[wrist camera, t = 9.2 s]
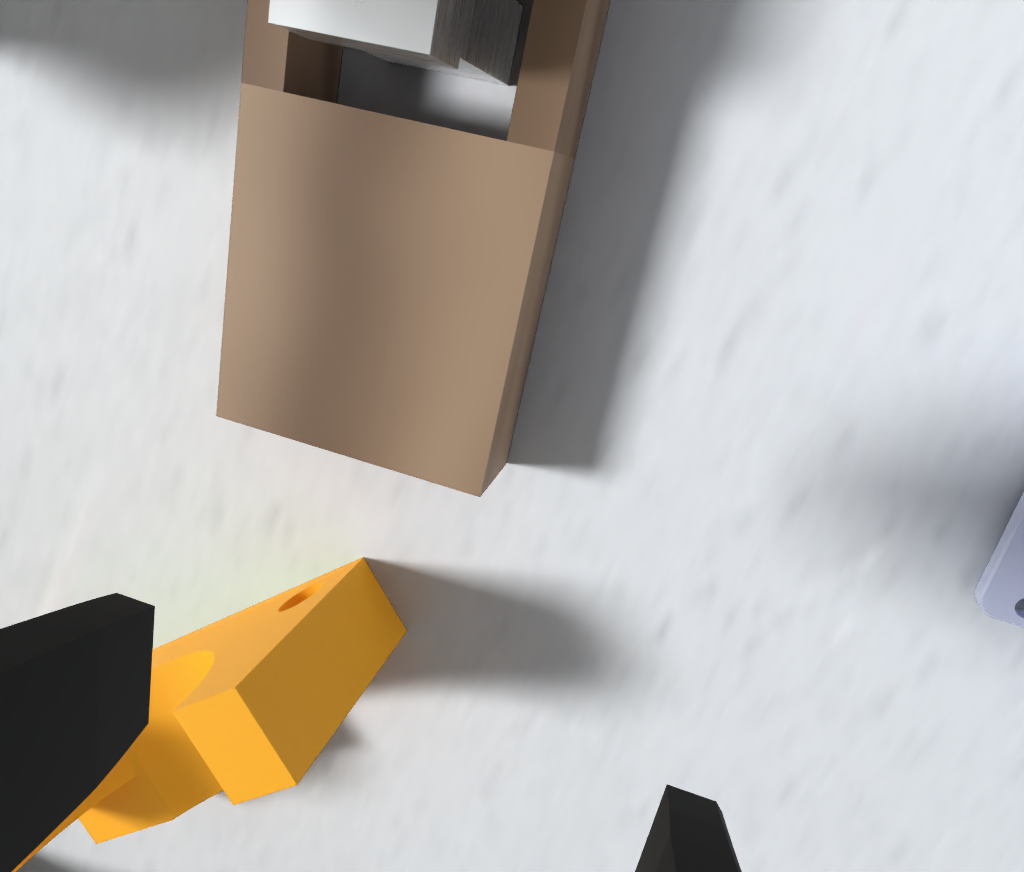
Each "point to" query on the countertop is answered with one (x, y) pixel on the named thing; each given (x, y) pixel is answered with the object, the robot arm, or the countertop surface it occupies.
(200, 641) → the orange saddle block
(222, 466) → the countertop surface
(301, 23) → the brushed aluminum block
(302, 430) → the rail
